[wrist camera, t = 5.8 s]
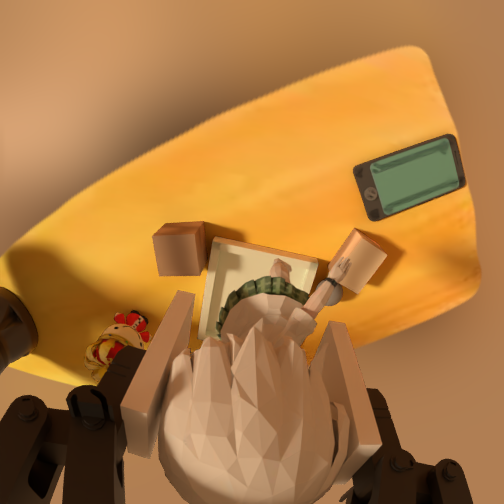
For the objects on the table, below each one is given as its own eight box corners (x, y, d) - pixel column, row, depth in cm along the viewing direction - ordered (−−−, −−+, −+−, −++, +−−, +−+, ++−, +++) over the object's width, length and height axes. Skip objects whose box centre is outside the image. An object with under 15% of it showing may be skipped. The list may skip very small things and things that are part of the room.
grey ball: (310, 294, 41) (313, 308, 38) (318, 271, 40) (322, 284, 37) (335, 299, 41) (339, 313, 38) (343, 276, 40) (349, 289, 37)
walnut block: (171, 259, 41) (159, 276, 36) (165, 223, 39) (152, 235, 34) (208, 258, 40) (199, 275, 36) (203, 221, 38) (194, 233, 34)
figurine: (239, 345, 22) (207, 553, 8) (173, 291, 20) (68, 495, 6) (355, 250, 19) (473, 470, 5) (288, 178, 17) (351, 369, 3)
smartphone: (353, 168, 34) (454, 133, 31) (350, 167, 35) (449, 132, 32) (371, 225, 36) (467, 187, 33) (368, 222, 37) (462, 185, 34)
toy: (169, 316, 44) (133, 389, 30) (149, 345, 46) (114, 414, 32) (128, 289, 43) (79, 353, 29) (112, 320, 45) (67, 383, 31)
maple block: (327, 265, 40) (332, 279, 36) (354, 227, 38) (362, 238, 34) (350, 279, 40) (357, 294, 37) (377, 243, 38) (387, 255, 34)
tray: (199, 331, 45) (197, 339, 43) (215, 236, 39) (212, 241, 37) (286, 349, 45) (286, 357, 43) (316, 258, 39) (318, 263, 38)
